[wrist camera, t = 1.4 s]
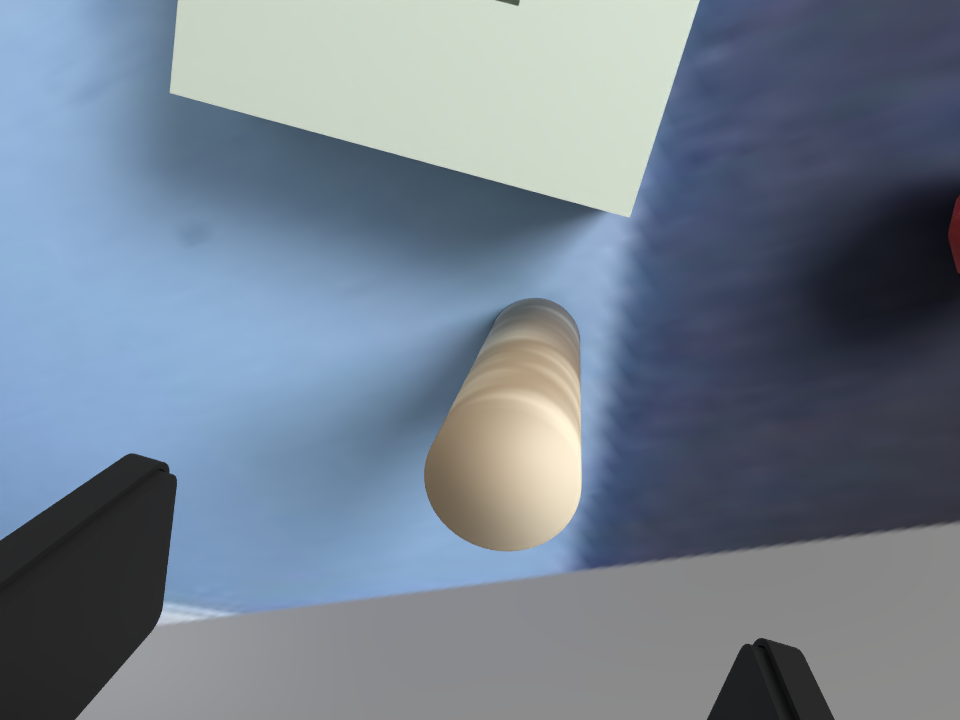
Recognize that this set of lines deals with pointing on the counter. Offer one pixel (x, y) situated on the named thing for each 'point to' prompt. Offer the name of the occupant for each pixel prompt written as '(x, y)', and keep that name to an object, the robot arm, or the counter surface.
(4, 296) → the counter surface
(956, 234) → the onion
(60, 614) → the robot arm
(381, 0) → the hole block
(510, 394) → the pin
